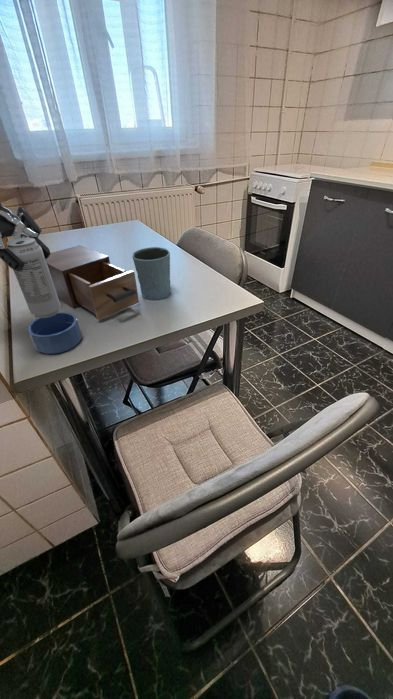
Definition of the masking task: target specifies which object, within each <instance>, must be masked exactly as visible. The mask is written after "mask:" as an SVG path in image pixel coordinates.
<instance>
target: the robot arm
mask: <svg viewBox="0 0 393 699" xmlns="http://www.w3.org/2000/svg"><path fill="white" fill-rule="evenodd" d="M16 228H17V231H15V230H16ZM41 233H42V228H41V227H40V226H39V225H38V223H37V222H36V221H35V219H33V217H32V216H31V215H30V213H28V211H27V210H26V209H25V208H24V207H22V206H18V208H17V209H16V210H10V209H9V208H7V207H5V206H4V205H3V204H2V203H1V202H0V259H1V260H2V261H3V262H4V264H6V265H7V266H8V267H9V268H10V269H11V270H12V271H13V270H16V271H21V270H22V269H23V266H24V263H23V262H22V261H21V260H20V259H19V258H18V257H17V256H16V255H15V254H14V253H13V252H12V251H10V250H9V249H8V247H6V246H5V242H4V241H3V240H4V238H10V237H11V238H13V239H18V238H34V239H35V240H36V243H37V244H38V245H39V246H40V247H41V248H42V251H43V254H44V257H45V259H47V258H48V257H49V255H50V253H51V250H50V248H49V247H48V246H47V245H46V244H45V243H44V242H43V241H42V240H41V239H40V238H39V237H40V235H41Z"/></svg>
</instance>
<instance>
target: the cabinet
mask: <svg viewBox="0 0 393 699" xmlns="http://www.w3.org/2000/svg"><path fill="white" fill-rule="evenodd" d="M101 253H102V252H100V253H99V251H97V250H94V249H91V248H88V247H86V246H84V245H81V244H79V245H78V244H77V245H75V246H71V247H68V248H65V249H64V248H63V249H60V250H56V251H53V252H50V255H49V257H48V258H47V259H45V260H46V263H47V266H48V269H49V272H50V275H51V278H52V281H53V284H54V287H55V290H56V293H57V296H58V299H59V301H61V302H63V303H64V304H66V305H67V306H69V307H70V308H72V309H77V308H79V307H83V306H82V305H80V304H79V303H77V302H75V300H74V297H73V294H72V291H71V287H70V284H69V281H68V277H67V274H66V273H69V272H72V271H75V270H78V269H82V268H85V267H88V266H91V265H94V264H97V263H100V262H103V261H104V262H106V263H109V264H111V261H110V256H109V255H106V254H104V253H102V254H101Z"/></svg>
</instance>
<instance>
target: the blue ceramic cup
mask: <svg viewBox="0 0 393 699" xmlns="http://www.w3.org/2000/svg"><path fill="white" fill-rule="evenodd" d="M131 256H132V260H133V264H134V268H135V271H136V274H137V279H138V280H137V281H138V283H139V286H140V287H139V288H140V292H141V296H142V297H143V298H145V299H147V300H154V301H158V300H163V299H165V298H167V297H169V296H170V295H171V290H172V289H171V252H170V249H167V248H165V247H160V246H153V247H151V246H150V247H145V248H140V249H138V250H136V251H134V252H133V253H132V255H131Z"/></svg>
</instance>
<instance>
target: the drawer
mask: <svg viewBox="0 0 393 699" xmlns="http://www.w3.org/2000/svg"><path fill="white" fill-rule="evenodd" d="M66 274H67V277H68V281H69V284H70V287H71V291H72V294H73V297H74V300H75V302H77V303H79V304H80V305H82V306H81V307H83V308H85V309H87V310H89V311H90V312H92V313H93V314H95V318H96V319H97V320H98V321H101V320H102V319H105V318H108V317H109V316H112V315H114V314H116V313H119V312H120V311H123V310H125V309H127V308H129V307H132V306H134V305H136V304H138V303H140V298H139V293H138V286H137V281H136V274H135V270H128V271H127V270H125V269H123V268H121V267H118V266H116V265H115V264H114V265H113V264H111V263H110V264H109V263H106V262H104V261H103V262H100V263H97V264H94V265H91V266H88V267H85V268H82V269H78V270H75V271H72V272H69V273H66Z"/></svg>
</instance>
